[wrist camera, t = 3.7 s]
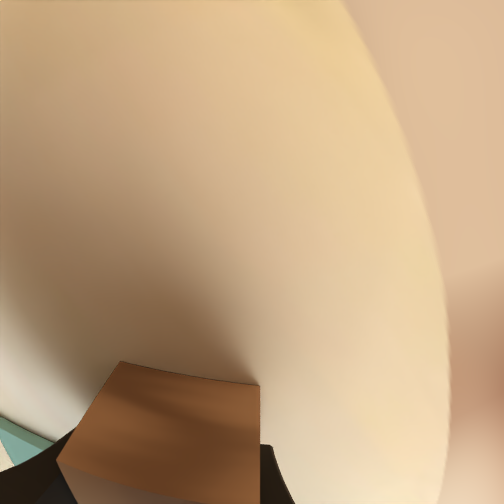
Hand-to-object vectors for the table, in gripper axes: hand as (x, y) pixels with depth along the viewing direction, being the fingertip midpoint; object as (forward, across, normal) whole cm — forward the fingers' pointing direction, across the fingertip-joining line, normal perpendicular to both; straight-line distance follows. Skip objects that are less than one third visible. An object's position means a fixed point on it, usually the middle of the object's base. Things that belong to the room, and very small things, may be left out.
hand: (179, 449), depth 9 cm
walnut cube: (+1, 0, 0) cm, 1 cm away
